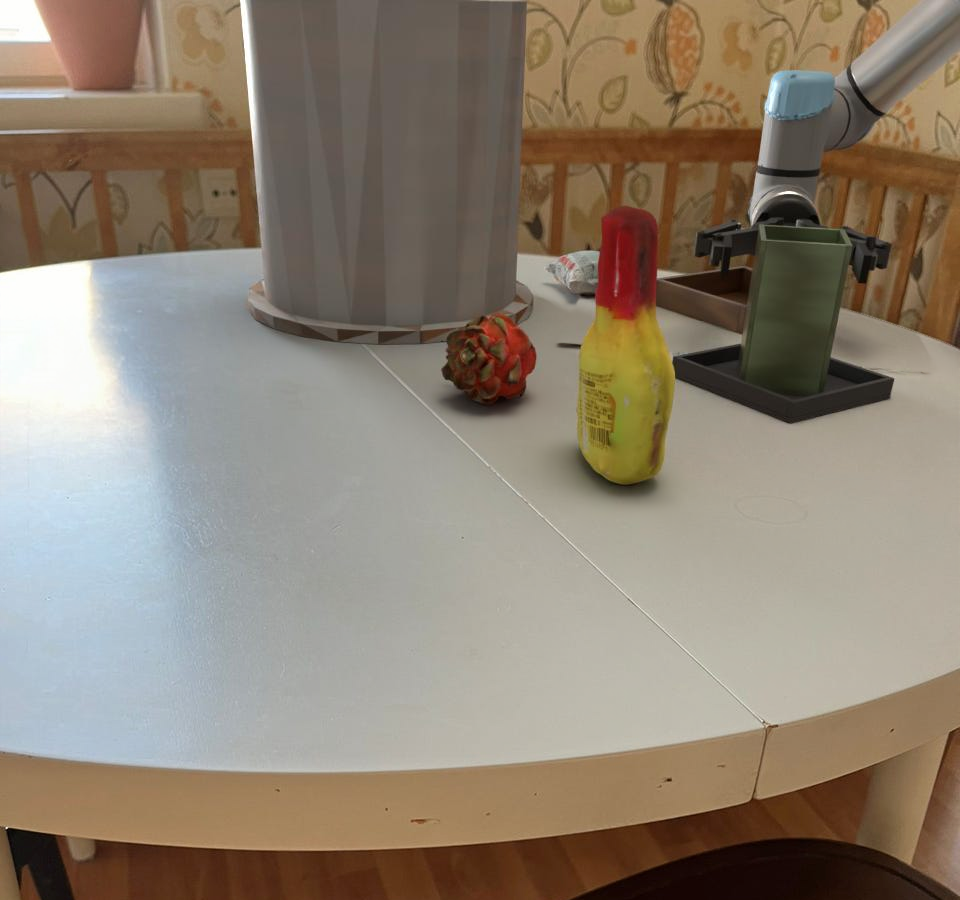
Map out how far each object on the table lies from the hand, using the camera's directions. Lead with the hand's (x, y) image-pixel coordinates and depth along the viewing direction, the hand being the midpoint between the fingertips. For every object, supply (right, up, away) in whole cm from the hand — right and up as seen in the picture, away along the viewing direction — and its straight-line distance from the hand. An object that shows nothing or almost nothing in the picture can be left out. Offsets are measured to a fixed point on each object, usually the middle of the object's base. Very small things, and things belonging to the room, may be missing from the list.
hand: (795, 265), depth 105 cm
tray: (-2, -12, 0) cm, 12 cm away
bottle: (-21, -24, -19) cm, 37 cm away
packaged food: (-18, +7, +31) cm, 37 cm away
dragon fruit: (-31, -14, -4) cm, 34 cm away
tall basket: (-2, -12, 0) cm, 12 cm away
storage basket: (-43, +4, +24) cm, 49 cm away
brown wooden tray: (0, +2, +23) cm, 24 cm away
